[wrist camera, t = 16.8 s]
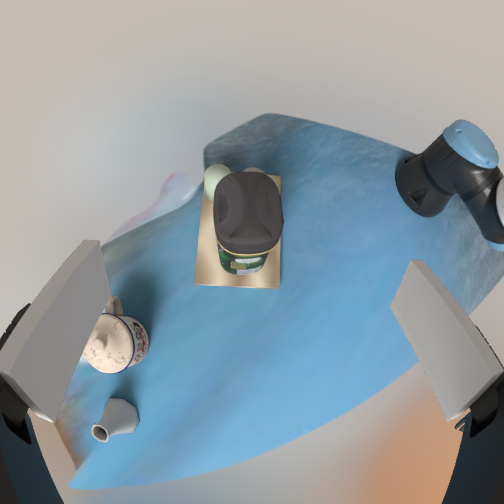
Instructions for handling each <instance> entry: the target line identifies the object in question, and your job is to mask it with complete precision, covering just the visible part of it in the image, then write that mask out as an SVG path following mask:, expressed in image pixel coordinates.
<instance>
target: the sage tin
mask: <svg viewBox="0 0 504 504" xmlns="http://www.w3.org/2000/svg"><path fill="white" fill-rule="evenodd" d="M230 173H231V171H230V169H229V168H228V167H226V166H224V165H221V164H215V165H212V166H210V167H209V168H208V169H207V170H206V171H205V174H204V179H205V195H206V198H207V199H208V200H209V201H211V202H214V191H215V188H216V185H217V184H218V182H219V181H220V180H221V179H222V178H223V177H225V176H226V175H228V174H230Z"/></svg>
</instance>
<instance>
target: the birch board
mask: <svg viewBox="0 0 504 504" xmlns="http://www.w3.org/2000/svg"><path fill="white" fill-rule="evenodd" d="M231 173H235V172H231ZM267 176H269V177H270V178H271V179H272V180H273V181H274V182H275V183H276V185H277V187H278V190H279V194H280V196H281V176H275V175H267ZM195 284H196V285H211V286H227V287H245V288H266V289H279V288H280V239H279V241H278V243H277V245H276V246H275V247H274V248H273V249H272V250H271V251H269V254H268V256H267V259H266V261H265V263H264V265H263V267H262V268H261V269H260V270H259V271H258V272H256V273H252V274H246V275H235V274H230V273H228V272H226V271H225V270H224V269H223V267H222V266H221V263H220V259H219V253H218V247H217V241H216V236H215V229H214V220H213V202H211V201H209V200H208V199H207V198H206V195H205V185H204V193H203V202H202V210H201V219H200V229H199V239H198V249H197V260H196V272H195Z"/></svg>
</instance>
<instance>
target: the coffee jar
mask: <svg viewBox="0 0 504 504" xmlns="http://www.w3.org/2000/svg"><path fill="white" fill-rule="evenodd" d="M213 220H214V229H215V236H216V241H217V247H218V253H219V259H220V263H221V266H222V267H223V269H224V270H225V271H226V272H228V273H230V274H235V275H246V274H252V273H256V272H258V271H259V270H260V269H261V268H262V267H263V265H264V263H265V261H266V259H267V256H268V254H269V251H271V250H272V249H273V248H274V247H275V246H276V245H277V243H278V241H279V239H280V236H281V232H282V227H283V223H284V221H283V213H282V205H281V196H280V194H279V190H278V187H277V185H276V183H275V182H274V181H273V180H272V179H271V178H270V177H269V176H267V175H266V174H264V173H262V172H235V173H230V174H228V175H226V176H225V177H223V178H222V179H221V180H220V181H219V182H218V184H217V185H216V188H215V191H214V202H213Z"/></svg>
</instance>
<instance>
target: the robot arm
mask: <svg viewBox="0 0 504 504" xmlns="http://www.w3.org/2000/svg"><path fill="white" fill-rule="evenodd" d="M498 162H499V157H498V153H497V150H495V148H494V145H493V143H492V142H491V140H490V139H489V138H488V136H487V135H486V134H485V133H484V132H483V131H482V130H481V129H480V128H478V127H477V126H476V125H474V124H473V123H471V122H469V121H466V120H457V121H455V122H454V123H452V124H451V125H450V126H449V127H447V128H445V129H444V131H443V133H442V134H441V135H440V136H439V137H438V138H437V139H436V140H435V141H434V142H433V143H432V144H431V145H430V146H429V147H428V148H427V149H426V150H425V151H424V152H423V153H420V154H417V155H414V156H412V157H409V158H407V159H405V160H404V161H403V162H402V163H401V164H400V165H399V166H398V167H397V169H396V173H395V180H396V185H397V188H398V191H399V193H400V195H401V197H402V199H403V200H404V202H405V203H406V204H407V205H408V206H409V207H410V208H411V209H412V210H413V211H414V212H415V213H417V214H419V215H421V216H423V217H433V216H435V215H437V214H439V213H440V212H441V211H442V210H443V209H444V207H445V205H446V204H447V203H448V201H449V200H450V198H451V197H452V196H453V195H454V194H456V193H458V194H459V196H460V197H461V199H462V200H463V202H464V203H465V205H466V207H467V208H468V210H469V211H470V213H471V215H472V216H473V218H474V220H475V221H476V223H477V225H478V227H479V229H480V231H481V233H482V235H483V237H484V239H486V241H487V242H488V244H489V246H490V247H491V248H493V249H494V250H497V251H504V176H503V174H502V173H501V171H500V169H499V168H498V166H497V164H498ZM111 295H112V294H111V290H110V287H109V283H108V279H107V274H106V270H105V266H104V261H103V256H102V252H101V247H100V241H97V240H84V241H83V242H82V243H81V244H80V245H79V246H78V247H77V249H75V250H74V252H73V253H72V254H71V255H70V256H69V257H68V258H67V260H66V261H65V262H64V263H63V264H62V266H61V267H60V268H59V269H58V270H57V272H56V273H55V274H54V275H53V276H52V278H51V279H50V280H49V282H48V283H47V284H46V285H45V287H44V288H43V289H42V291H41V292H40V293H39V294H38V296H37V297H36V298H35V300H34V301H33V302H32V304H30V303H29V304H27V305H26V306H25V307H24V308H23V309H21V310H20V311H19V312H18V313H17V315H16V316H15V317H14V319H13V321H12V324H10V325H9V326H8V328H7V329H6V333H4V334H3V335H2V337H1V339H0V504H64V503H63V501H62V499H61V497H60V495H59V493H58V491H57V489H56V486H55V485H54V482H53V480H52V478H51V475H50V473H49V471H48V468H47V466H46V463H45V461H44V458H43V456H42V453H41V450H40V447H39V445H38V442H37V439H36V435H35V432H34V429H33V426H32V423H31V419H30V417H29V415H28V414H27V411H28V408H30V409H31V410H32V411H33V412H34V413H35V414H36V415H37V416H39V417H41V418H43V419H46V420H48V421H50V422H53V423H55V420H56V418H57V415H58V412H59V409H60V406H61V404H62V401H63V398H64V396H65V393H66V391H67V388H68V386H69V383H70V381H71V378H72V376H73V373H74V371H75V369H76V366H77V364H78V362H79V360H80V357H81V355H82V353H83V351H84V349H85V346H86V344H87V342H88V340H89V338H90V336H91V334H92V332H93V330H94V328H95V326H96V324H97V322H98V320H99V318H100V316H101V314H102V312H103V310H104V308H105V306H106V304H107V302H108V300H109V299H110V297H111ZM390 308H391V310H392V312H393V313H394V315H395V317H396V319H397V320H398V322H399V324H400V326H401V328H402V329H403V331H404V333H405V335H406V337H407V339H408V341H409V342H410V344H411V346H412V348H413V350H414V352H415V354H416V356H417V358H418V360H419V362H420V364H421V366H422V368H423V370H424V372H425V374H426V376H427V378H428V380H429V382H430V384H431V387H432V389H433V391H434V393H435V396H436V398H437V400H438V402H439V405H440V407H441V409H442V412H443V414H444V416H445V419H446V421H449V420H452V419H454V418H456V417H458V416H460V415H461V414H462V413H463V412H464V411H466V410H467V409H468V408H470V410H471V412H469V413H468V414H467V415H466V416H465V417H464V418H463V419H461V420H460V421H459V422H458V423H457V424H456V426H455V429H457V428H458V427H460V426H461V425H462V424H463V423H465V424H464V425H463V426H462V427H461V428H460V429H459V431H462V432H463V436H462V440H461V444H460V449H459V453H458V457H457V460H456V464H455V467H454V470H453V474H452V477H451V480H450V483H449V486H448V488H447V492H446V494H445V497H444V499H443V502H442V504H504V367H503V365H502V364H501V362H500V361H499V359H498V357H497V356H496V354H495V353H494V351H493V349H492V348H491V346H489V345H488V344H489V343H488V342H487V340H486V339H485V338H484V336H483V334H482V333H481V332H480V330H479V329H478V327H477V326H476V325H474V324H473V322H472V321H471V319H470V318H469V317H468V315H467V314H466V312H465V311H464V310H463V308H462V307H461V306H460V305H459V303H458V302H457V301H456V299H455V298H454V297H453V296H452V294H451V293H450V292H449V291H448V289H447V288H446V287H445V286H444V284H443V283H442V282H441V281H440V280H439V278H438V277H437V276H436V275H435V274H434V273H433V271H432V270H431V269H430V268H429V267H428V266H427V265H426V263H425V262H424V261H423V260H410V262H409V265H408V267H407V270H406V272H405V275H404V277H403V279H402V282H401V284H400V286H399V289H398V291H397V293H396V295H395V297H394V300H393V302H392V304H391V306H390Z"/></svg>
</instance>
